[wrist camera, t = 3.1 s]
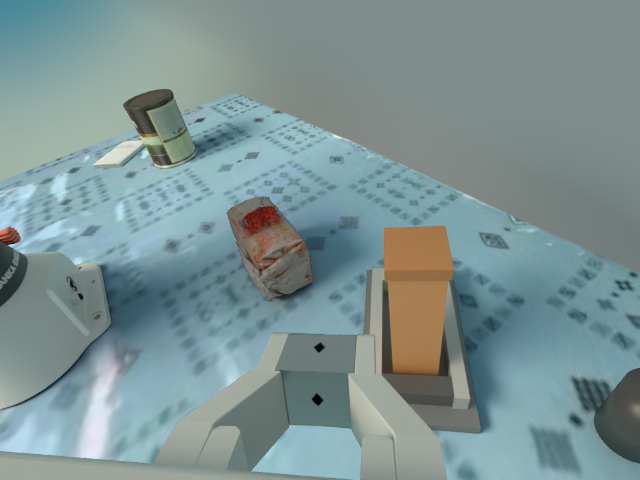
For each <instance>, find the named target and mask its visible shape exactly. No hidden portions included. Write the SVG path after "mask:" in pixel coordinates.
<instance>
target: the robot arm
mask: <svg viewBox="0 0 640 480" xmlns="http://www.w3.org/2000/svg"><path fill="white" fill-rule="evenodd" d="M18 242H20V236H19V233H17V230H15V229H14V228H11V227H8V228H5V229H3V230H2V231H0V409H2V408H6V407H9V406H12V405H15V404H18V403H20V402H22V401H24V400H26V399H28V398H30V397H32V396H34V395H35V394H37V393H39V392H40V391H42V390H43V389H45V388H46V387H48V386H49V385H51V384H52V383H53V382H54V381H56V380H57V379H58V378H59V377H60V376H62V375H63V374H64V373H65V372H66V371H67V370H68V369H69V368H70V367H71V366H72V365H73V364H74V363H75V361H76V360H77V359H78V358H79V357H80V355H81V354H82V353H83V351H84V350H85V349H86V348H87V346H88V345H89V344H90V343H91V342H93V341H94V340H95V339H96V338H97V337H99V336H100V335H101V334H102V333H103V332H104V331H105V330H107V328H108V327H109V326H110V324H111V318H110V312H109V307H108V302H107V297H106V291H105V286H104V281H103V276H102V271H101V267H100V266H99V265H98V264H97V263H83V264H77V265H75V264H74V263H73V262H72V261H71V260H70V259H69V258H68V257H67V256H65V255H64V254H62V253H58V252H44V253H33V254H22V253H20V252H18V251H16V250H15V249H13V248H11V247H9V246H7V245H9V244H15V243H18ZM289 425H307V426H327V427H338V428H350V429H352V432H353V434H354V435H355V437H356V439H357V441H358V443H359V445H360V446H361V448H362V451H361V475H360V480H447V476H446V471H445V466H444V462H443V457H442V452H441V447H440V442H439V438H438V436H437V435H436V434H435V433H434V432H433V431H432V430H431V429H430V428H429V427H428V425H427V424H426V423H425V422H424V421H423V420H422V419H421V418H420V417H419V415H418V414H417V413H416V412H415V411H414V410H413V409H412V408H411V407H410V406H409V404H408V403H407V402H406V401H405V400H404V399H403V398H402V397H401V396H400V395H399V393H398V392H397V391H396V390H395V389H394V388H393V387H392V386H391V385H390V383H389V382H388V381H387V380H386V379H385V378H384V377H383V376H382V375H380V374H376V350H375V335H374V334H357V335H323V334H306V333H273V334H272V335H271V336H270V339H269V341H268V343H267V346H266V348H265V350H264V353H263V355H262V357H261V360H260V362H259V364H258V367H257V369H256V370H250V371H249V372H248V373H246V374H245V375H243V376H242V377H240V378H239V379H238V380H236V381H235V382H233V383H232V384H231V385H229V386H228V387H226V388H225V389H223V390H222V391H221V392H219V393H218V394H216V395H215V396H213V397H212V398H211V399H209V400H208V401H206V402H205V403H204V404H202V405H201V406H199V407H198V408H196V409H195V410H194V411H192V412H191V413H189V414H188V415H186V416H185V417H184V418H182V419H181V420H179V421H178V423H177V424H176V426H175V428H174V429H173V431H172V433H171V434H170V436H169V437H168V439H167V441H166V442H165V444H164V446H163V447H162V449H161V451H160V452H159V454H158V456H157V457H156V459H155V461H154V462H153V464H152V463H140V462H127V461H115V460H102V459H90V458H78V457H65V456H53V455H41V454H28V453H16V452H4V451H0V480H350V479H338V478H325V477H313V476H301V475H288V474H276V473H263V472H251V470H252V469H253V468H254V467H255V466H256V465H257V463H258V462H259V461H260V460H261V459H262V458H263V456H264V455H265V454H266V453H267V452H268V451H269V450H270V448H271V447H272V446H273V445H274V444H275V443H276V441H277V440H278V439H279V438H280V437H281V436H282V435H283V433H284V432H285V431H286V430H287V429H288V428H289Z"/></svg>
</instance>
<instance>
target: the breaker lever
mask: <svg viewBox="0 0 640 480" xmlns="http://www.w3.org/2000/svg"><path fill="white" fill-rule="evenodd" d="M453 272H454V268H453V263H452V258H451V253H450V248H449V243H448V238H447V233H446V228H445V226H432V227H406V228H384V278H385V281H388V293H389V311H390V328H391V346H392V363H393V374H406V375H426V376H438V371H439V362H440V353H441V344H442V335H443V326H444V317H445V308H446V299H447V290H448V282H449V280H453Z"/></svg>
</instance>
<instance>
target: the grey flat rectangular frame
mask: <svg viewBox="0 0 640 480" xmlns="http://www.w3.org/2000/svg"><path fill="white" fill-rule="evenodd" d="M364 334H374V335H375V350H376V374H380V375H382V376H383V377H384V378H385V379H386V380H387V381H388V382H389V383H390V385H391V386H392V387H393V388H394V389H395V390H396V391H397V392H398V393H399V395H400V396H401V397H402V398H403V399H404V400H405V401H406V402H407V403H408V404H409V406H410V407H411V408H412V409H413V410H414V411H415V412H416V413H417V414H418V415H419V417H420V418H421V419H422V420H423V421H424V422H425V423H426V424H427V425H428V427H429V428H430V429H431V430H441V431H454V432H466V433H478V434H480V431H481V426H480V421H479V415H478V410H477V405H476V399H475V394H474V389H473V383H472V378H471V373H470V368H469V362H468V357H467V352H466V346H465V341H464V336H463V330H462V325H461V320H460V315H459V309H458V304H457V299H456V293H455V288H454V283H453V280H449V282H448V290H447V299H446V308H445V317H444V326H443V335H442V344H441V353H440V362H439V371H438V376H426V375H406V374H393V363H392V346H391V328H390V311H389V293H388V281H385V278H384V269H383V268H372V270H369V271H367V285H366V304H365V323H364Z"/></svg>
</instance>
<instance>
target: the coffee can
mask: <svg viewBox="0 0 640 480" xmlns="http://www.w3.org/2000/svg"><path fill="white" fill-rule="evenodd" d="M123 107H124V108H125V110H126V111H127V113H128V115H129V117H130V118H131V120H132V122H133V124H134V126H135V128H136V130H137V132H138V133H139V135H140V137H141V139H142V141H143V143H144V145H145V147H146V148H147V150H148V152H149V154H150V156H151V158H152V160H153V162H154V164H155V166H156V167H158V168H172V167H176V166H179V165H182V164H184V163H186V162H188V161H189V160H191V159H192V158H193V157H194V156H195V155H196V153H197V149H196V148H195V146H194V143H193V141H192V139H191V136H190V134H189V132H188V129H187V127H186V125H185V122H184V120H183V117H182V115H181V113H180V111H179V108H178V106H177V103H176V101H175V99H174V97H173V92H172V91H171V90H168V89H160V90H154V91H150V92H146V93H143V94H140V95H138V96H135V97H133V98H131V99H129V100H128V101H126V102H125V103H124V105H123Z"/></svg>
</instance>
